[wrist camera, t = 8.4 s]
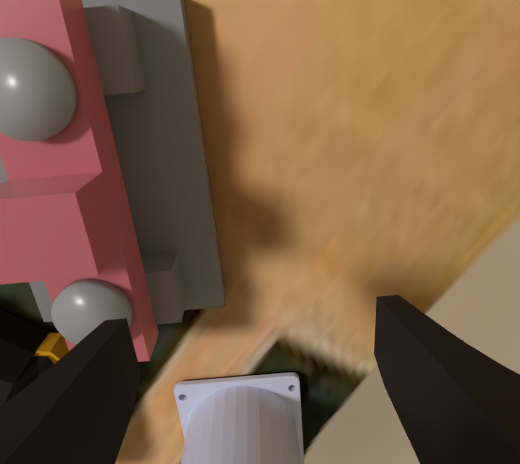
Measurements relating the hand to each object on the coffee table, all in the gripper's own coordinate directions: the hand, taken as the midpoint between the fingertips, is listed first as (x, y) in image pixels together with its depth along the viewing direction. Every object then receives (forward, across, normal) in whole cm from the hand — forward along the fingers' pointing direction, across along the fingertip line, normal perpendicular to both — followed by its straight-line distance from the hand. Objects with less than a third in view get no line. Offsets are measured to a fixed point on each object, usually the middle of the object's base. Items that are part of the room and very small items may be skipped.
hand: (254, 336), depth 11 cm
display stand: (+10, +7, -2) cm, 13 cm away
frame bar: (+7, +7, -2) cm, 10 cm away
